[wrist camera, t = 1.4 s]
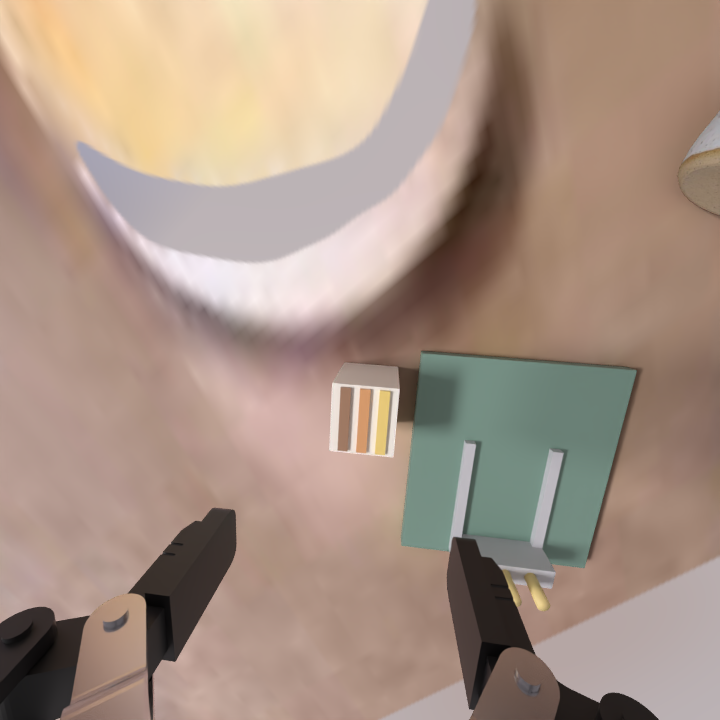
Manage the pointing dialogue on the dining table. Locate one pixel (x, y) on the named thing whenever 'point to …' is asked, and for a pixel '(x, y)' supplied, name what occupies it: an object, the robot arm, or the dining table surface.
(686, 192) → the ceramic mug
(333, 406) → the plug block
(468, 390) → the header board
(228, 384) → the dining table surface
